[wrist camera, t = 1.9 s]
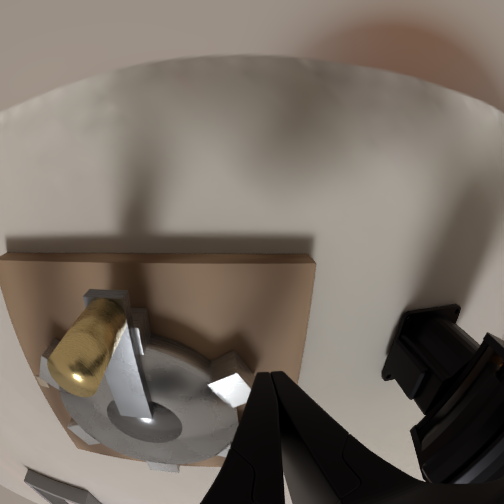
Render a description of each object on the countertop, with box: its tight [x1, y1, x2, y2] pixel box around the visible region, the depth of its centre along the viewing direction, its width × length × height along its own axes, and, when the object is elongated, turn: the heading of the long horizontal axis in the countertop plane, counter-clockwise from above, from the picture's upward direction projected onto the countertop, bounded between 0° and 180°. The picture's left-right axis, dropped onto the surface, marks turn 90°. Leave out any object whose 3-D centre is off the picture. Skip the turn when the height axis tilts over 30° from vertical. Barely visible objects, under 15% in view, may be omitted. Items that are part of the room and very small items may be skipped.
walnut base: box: [0, 253, 316, 467], centre depth 17 cm, size 20×20×2 cm
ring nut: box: [39, 289, 255, 473], centre depth 13 cm, size 14×17×7 cm
